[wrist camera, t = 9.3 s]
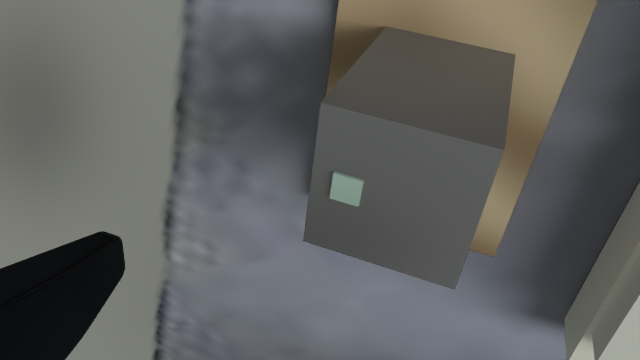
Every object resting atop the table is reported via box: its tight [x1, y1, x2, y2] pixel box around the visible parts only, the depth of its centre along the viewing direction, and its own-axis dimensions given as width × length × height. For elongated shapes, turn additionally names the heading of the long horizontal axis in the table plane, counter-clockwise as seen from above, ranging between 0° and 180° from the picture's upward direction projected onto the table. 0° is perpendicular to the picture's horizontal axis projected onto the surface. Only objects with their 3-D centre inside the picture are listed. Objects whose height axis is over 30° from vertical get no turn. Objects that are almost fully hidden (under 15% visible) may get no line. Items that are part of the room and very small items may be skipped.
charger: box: [303, 26, 516, 289], centre depth 16 cm, size 4×4×7 cm
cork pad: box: [326, 0, 598, 257], centre depth 20 cm, size 12×8×1 cm, turn 173°
